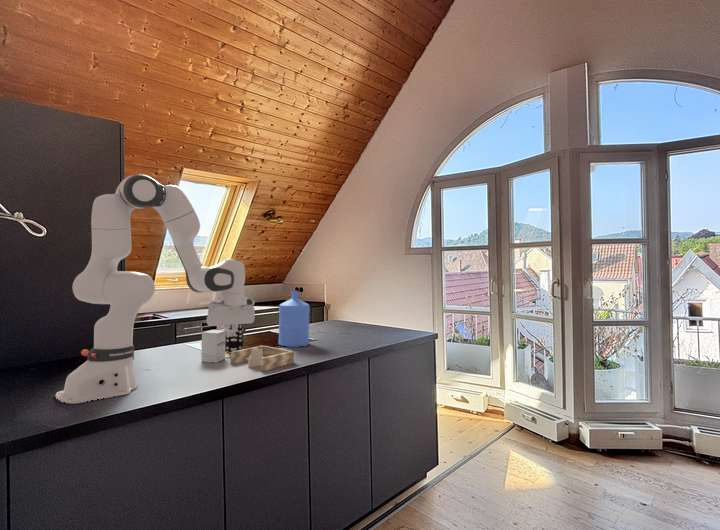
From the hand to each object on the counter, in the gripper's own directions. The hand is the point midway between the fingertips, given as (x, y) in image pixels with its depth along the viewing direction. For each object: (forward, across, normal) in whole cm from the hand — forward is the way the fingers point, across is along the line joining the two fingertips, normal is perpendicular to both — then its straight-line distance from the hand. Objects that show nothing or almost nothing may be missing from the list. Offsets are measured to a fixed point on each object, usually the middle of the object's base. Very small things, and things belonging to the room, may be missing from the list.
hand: (230, 336), depth 164 cm
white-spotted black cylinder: (+12, +25, +30) cm, 41 cm away
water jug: (+10, +54, +19) cm, 59 cm away
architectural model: (+14, +13, 0) cm, 19 cm away
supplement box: (+13, +7, +21) cm, 25 cm away
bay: (+13, +17, +1) cm, 21 cm away
